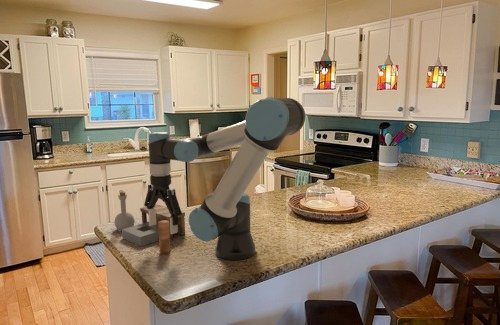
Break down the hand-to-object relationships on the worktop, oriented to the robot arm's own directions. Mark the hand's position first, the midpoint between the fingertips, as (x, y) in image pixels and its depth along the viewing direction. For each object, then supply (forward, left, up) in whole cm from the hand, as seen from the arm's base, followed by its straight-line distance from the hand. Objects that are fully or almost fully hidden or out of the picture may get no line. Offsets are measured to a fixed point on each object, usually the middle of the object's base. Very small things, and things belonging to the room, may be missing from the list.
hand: (163, 229), depth 139 cm
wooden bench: (+19, -13, -9) cm, 24 cm away
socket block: (+19, -4, -9) cm, 21 cm away
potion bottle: (+36, -4, -9) cm, 37 cm away
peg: (0, 0, -9) cm, 9 cm away
